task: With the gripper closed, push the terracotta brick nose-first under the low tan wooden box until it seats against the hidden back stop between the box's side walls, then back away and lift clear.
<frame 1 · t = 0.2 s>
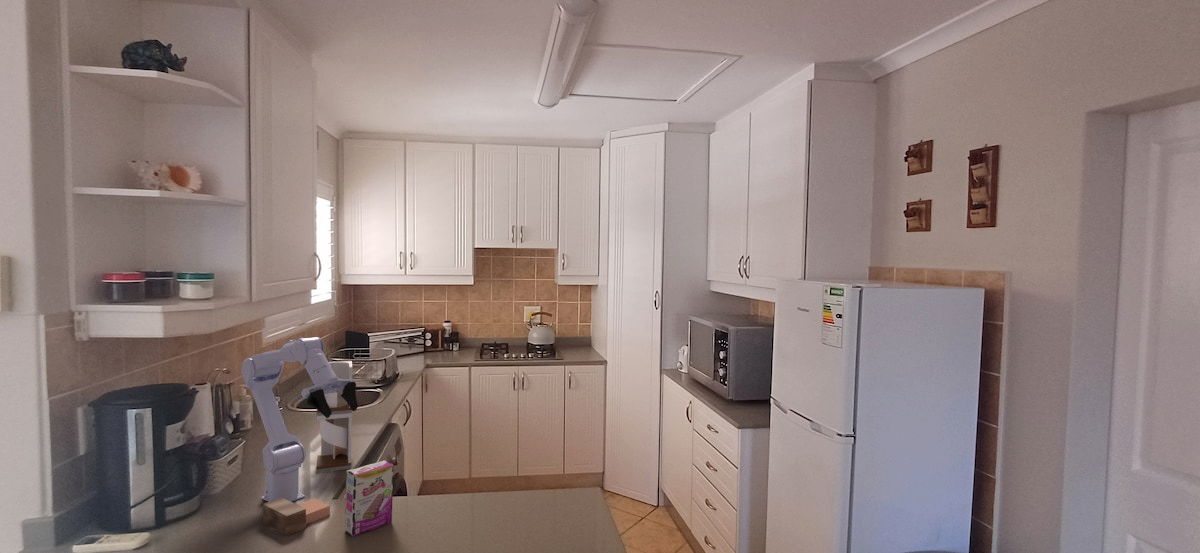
hand: (342, 412, 147), 31 cm above the countertop, tool tilted 45°, fingers open, 7 cm apart
terracotta brick: (309, 516, 152), on the countertop
candy bar box: (369, 527, 147), on the countertop
tan wooden box: (284, 525, 146), on the countertop
display case: (333, 465, 189), on the countertop
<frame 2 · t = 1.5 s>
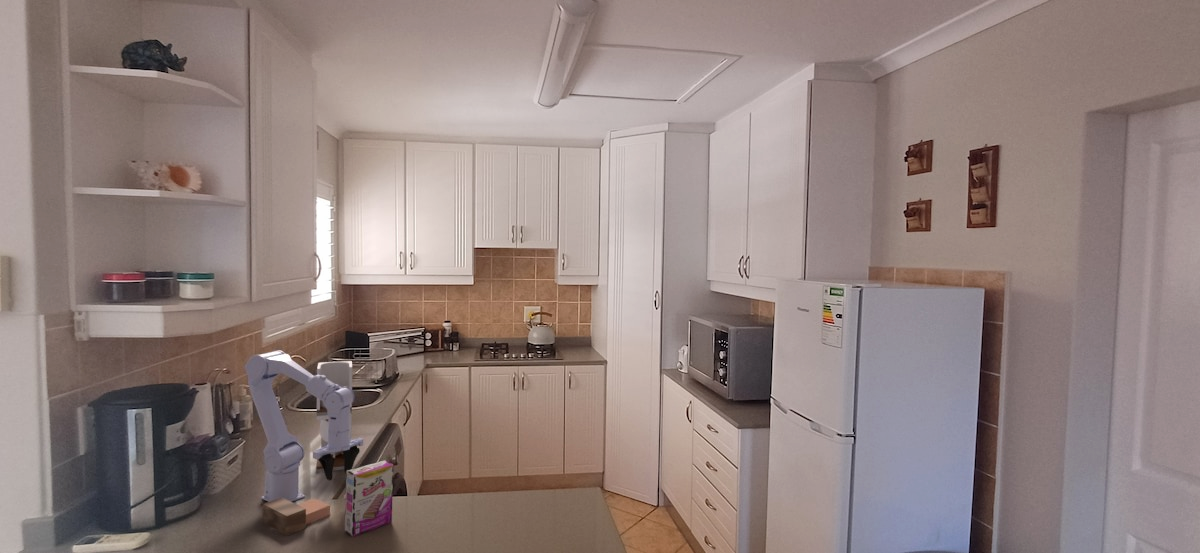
hand: (338, 476, 159), 8 cm above the countertop, tool pointing down, fingers open, 5 cm apart
nothing on the countertop moved.
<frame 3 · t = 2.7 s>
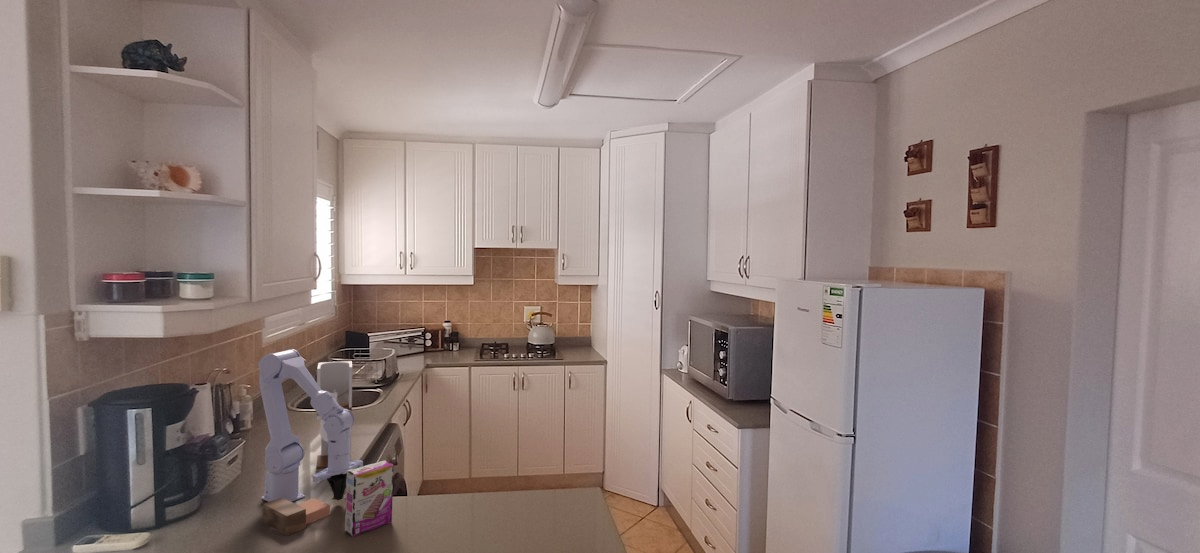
hand: (338, 498, 159), 2 cm above the countertop, tool pointing down, fingers closed
nothing on the countertop moved.
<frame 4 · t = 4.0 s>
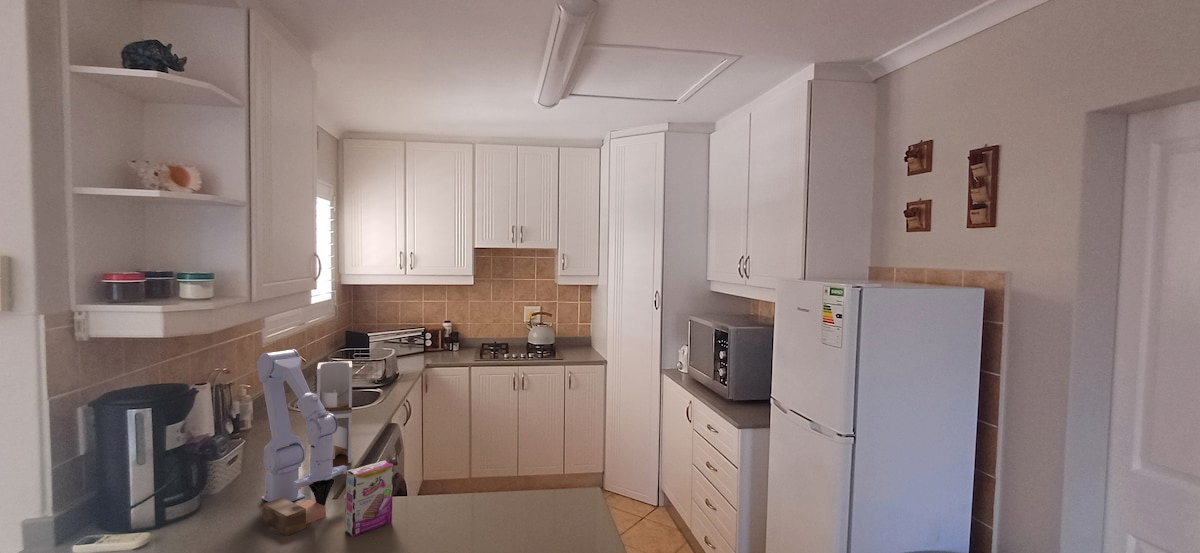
hand: (320, 505, 155), 2 cm above the countertop, tool pointing down, fingers closed
terracotta brick: (305, 518, 151), on the countertop
everything else where it was.
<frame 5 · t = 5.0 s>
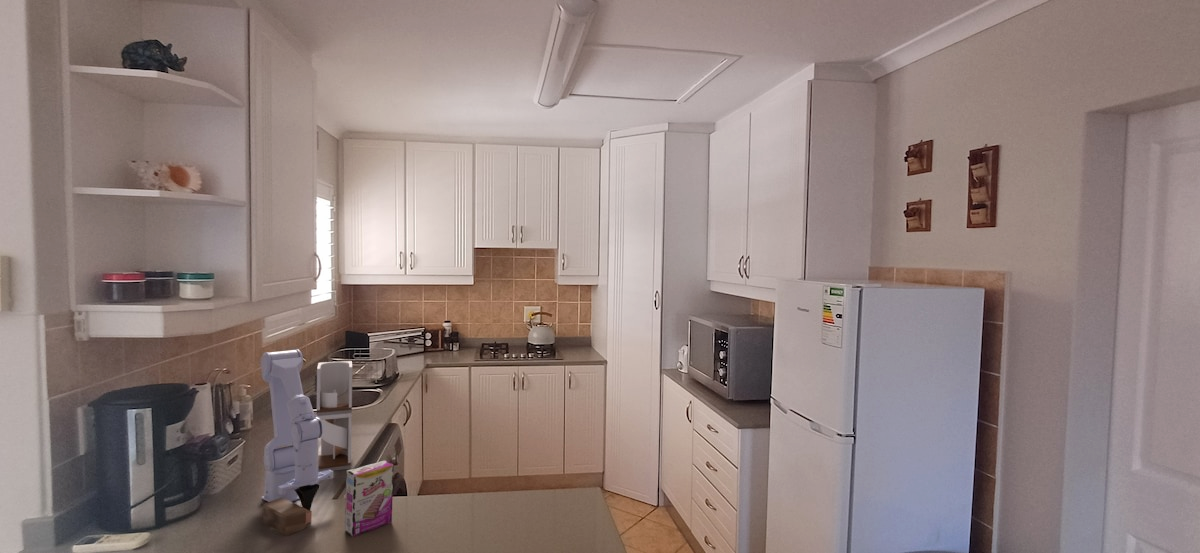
hand: (306, 511, 151), 2 cm above the countertop, tool pointing down, fingers closed
terracotta brick: (290, 523, 148), on the countertop, touching gripper, tan wooden box
everything else where it was.
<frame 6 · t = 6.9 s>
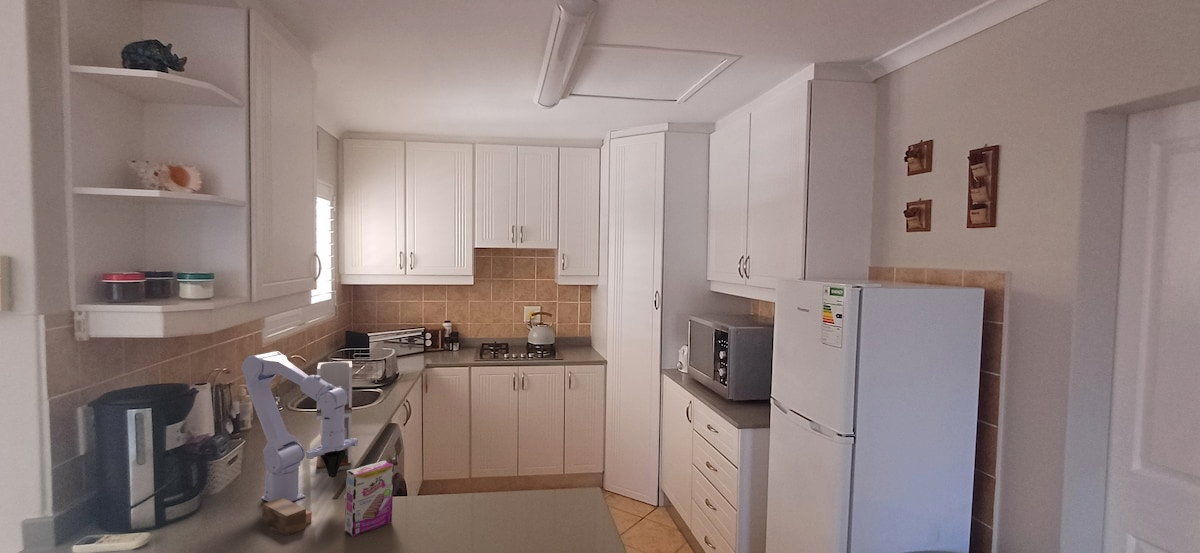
hand: (332, 476, 159), 9 cm above the countertop, tool pointing down, fingers closed
terracotta brick: (290, 523, 148), on the countertop
everything else where it was.
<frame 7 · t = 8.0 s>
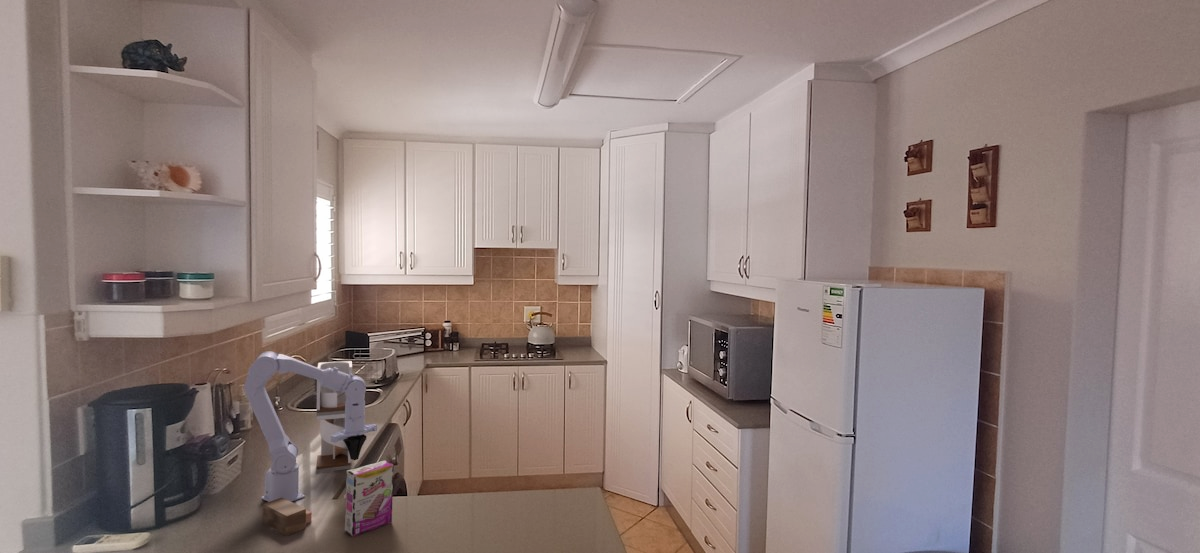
hand: (354, 459, 170), 9 cm above the countertop, tool pointing down, fingers closed
nothing on the countertop moved.
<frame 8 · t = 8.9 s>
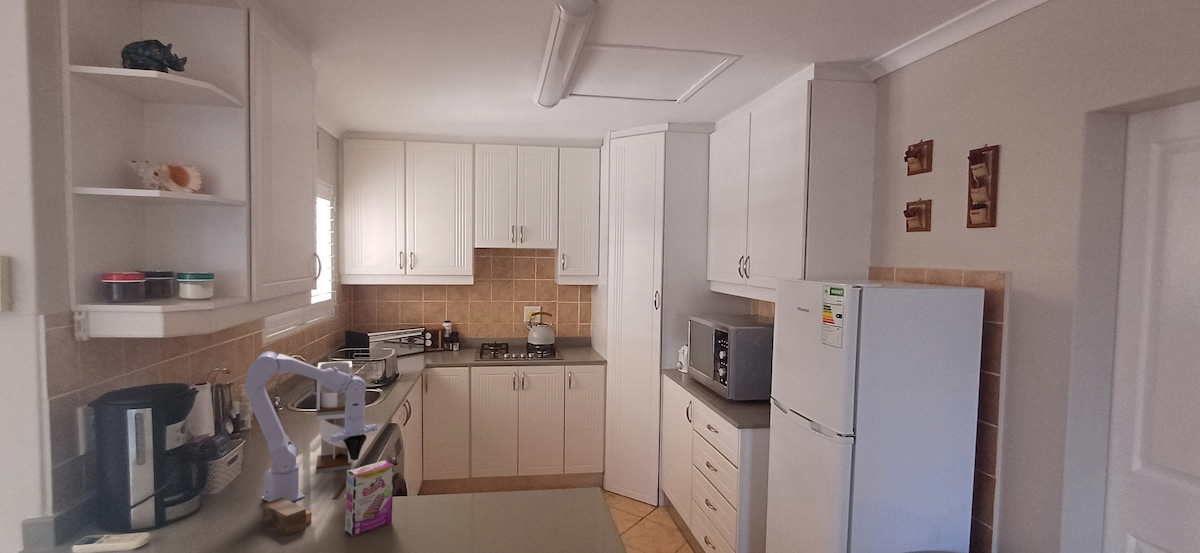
hand: (354, 459, 170), 9 cm above the countertop, tool pointing down, fingers closed
nothing on the countertop moved.
at the end: terracotta brick 0.4 cm from the target spot on the tan wooden box, point 0.0 cm above the tan wooden box's base; terracotta brick tilted 0°; terracotta brick moved 5.2 cm from its start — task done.
